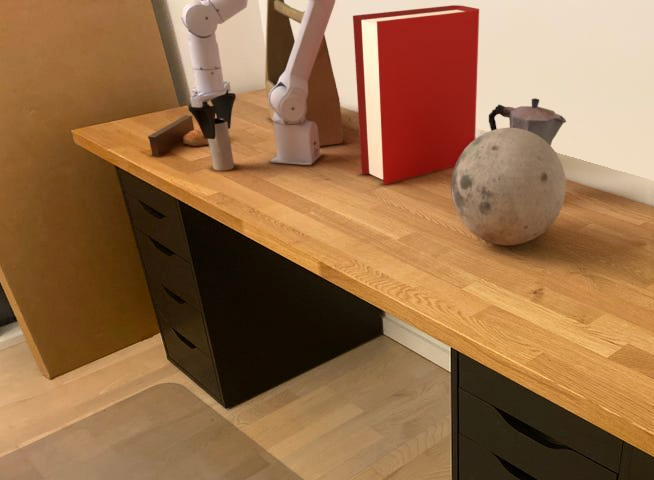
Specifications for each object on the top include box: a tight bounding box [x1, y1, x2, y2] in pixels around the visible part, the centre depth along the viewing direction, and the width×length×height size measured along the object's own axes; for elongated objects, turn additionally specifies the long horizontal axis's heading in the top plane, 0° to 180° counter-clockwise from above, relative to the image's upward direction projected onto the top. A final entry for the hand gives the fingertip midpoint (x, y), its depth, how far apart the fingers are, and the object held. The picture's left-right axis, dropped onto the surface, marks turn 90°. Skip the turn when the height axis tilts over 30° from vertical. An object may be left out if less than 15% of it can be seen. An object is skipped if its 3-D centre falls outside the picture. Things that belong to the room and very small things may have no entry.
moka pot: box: [488, 98, 567, 147], centre depth 144 cm, size 10×15×20 cm, turn 78°
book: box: [352, 4, 480, 186], centre depth 155 cm, size 27×8×32 cm, turn 131°
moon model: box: [450, 127, 567, 246], centre depth 126 cm, size 20×20×20 cm
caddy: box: [264, 0, 344, 147], centre depth 177 cm, size 29×11×30 cm, turn 28°
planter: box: [208, 117, 235, 172], centre depth 158 cm, size 4×4×10 cm
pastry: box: [182, 126, 209, 147], centre depth 174 cm, size 9×7×4 cm
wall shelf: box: [147, 114, 195, 157], centre depth 172 cm, size 2×18×4 cm, turn 171°
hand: (217, 133), depth 156 cm, fingers open, 7 cm apart
